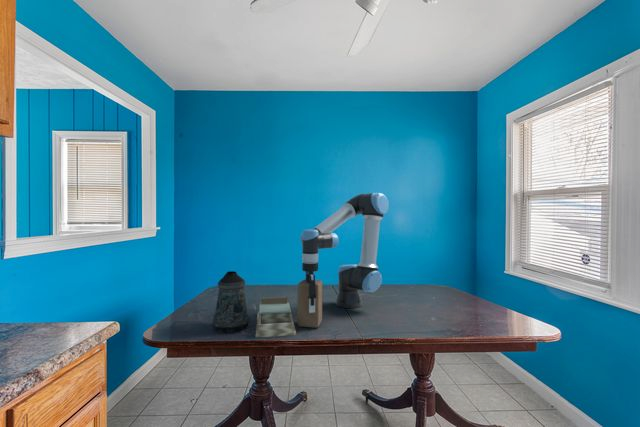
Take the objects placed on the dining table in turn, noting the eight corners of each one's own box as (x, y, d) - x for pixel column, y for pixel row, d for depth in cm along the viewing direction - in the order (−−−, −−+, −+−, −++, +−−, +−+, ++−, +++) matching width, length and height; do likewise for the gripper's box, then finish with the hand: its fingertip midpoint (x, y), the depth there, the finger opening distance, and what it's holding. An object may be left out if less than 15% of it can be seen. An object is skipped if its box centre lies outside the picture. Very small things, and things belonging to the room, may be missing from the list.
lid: (288, 303, 162) (288, 296, 162) (290, 312, 147) (291, 304, 147) (259, 305, 159) (259, 297, 159) (259, 314, 145) (259, 305, 145)
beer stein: (229, 337, 131) (230, 277, 131) (199, 327, 141) (200, 272, 141) (257, 325, 145) (257, 271, 145) (228, 318, 155) (228, 267, 155)
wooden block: (318, 328, 140) (318, 284, 141) (296, 327, 142) (297, 283, 142) (322, 321, 150) (322, 279, 150) (302, 319, 152) (302, 279, 152)
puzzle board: (290, 312, 164) (290, 303, 165) (296, 335, 133) (296, 323, 133) (257, 314, 162) (257, 304, 162) (255, 337, 130) (255, 325, 130)
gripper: (299, 258, 158) (299, 301, 158) (305, 266, 134) (305, 316, 134) (314, 258, 159) (314, 300, 159) (322, 266, 135) (322, 315, 135)
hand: (310, 308), depth 146 cm, fingers closed on wooden block, 12 cm apart
